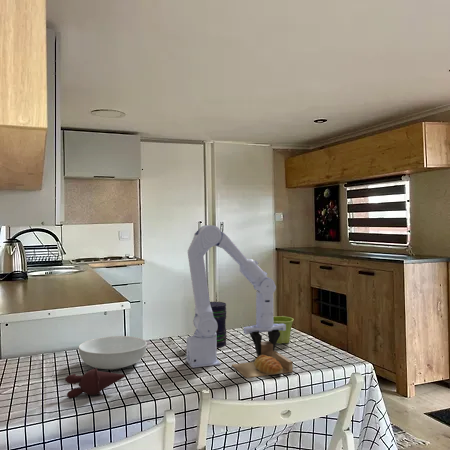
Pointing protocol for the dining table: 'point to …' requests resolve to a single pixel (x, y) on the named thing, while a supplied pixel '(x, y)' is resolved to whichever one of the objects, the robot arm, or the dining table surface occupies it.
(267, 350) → the walnut block
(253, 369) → the board
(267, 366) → the pastry
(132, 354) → the serving bowl
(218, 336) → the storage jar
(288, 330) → the plant pot
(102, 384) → the icecream
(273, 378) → the dining table surface
